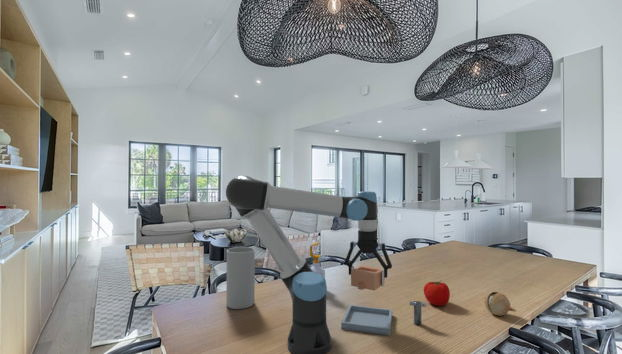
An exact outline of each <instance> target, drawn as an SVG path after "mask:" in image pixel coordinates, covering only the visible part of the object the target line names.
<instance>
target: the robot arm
mask: <svg viewBox="0 0 622 354" xmlns="http://www.w3.org/2000/svg"><path fill="white" fill-rule="evenodd" d="M225 197H226V200H227V202H228V203H229V204H230V205H231V206H232V207H233V208H235V210H236V211H237V213H238V214H239V216H240V217H241V218H243V219H246V220H247V221H248V222H249V224H250V225H251V227H252V228H253V230H254V231H255V233H256V234H257V236H258V238H259V239H260V241H261V242H262V244H263V246H264V247H265V248H266V250H267V251H268V254H269V255H270V256H271V258H272V259H273V261H274V262H275V264H276V266H277V267H278V269H279V270H280V274H279V278H280V279H281V281H282V282H283V284H284V285H285V287H286V289H287V290H288V292H289V294H290V298H291V301H292V324H291V327H290V329H289V333H288V336H287V339H286V340H287V341H286V342H287V345H286V346H287V349H288V351H289V352H291V354H327V353H328V352H329V351H330V350H331V348H332V345H333V344H332V335H331V332H330V330H329V327H328V324H327V290H328V286H327V281H326V277H325V278H324V277H323V276H322V275H320V274H317V273H315V272H313V270H312V269H311V268H310V267H311V266H310V265H309V263H308V262H307V260H306V259H305V258H302V257H300V256H299V255H298V253H297V252H296V250H295V249H294V247H293V245H292V243H291V242H290V241H289V239H288V237H287V236H286V234H285V233H284V231H283V229H282V228H281V226H280V225H279V224H278V222H277V220H276V218H275V217H274V216H273V214H272V212H271V211H270V209H276V210H284V211H289V212H297V213H298V212H299V213H304V214H305V213H306V214H311V215H319V216H327V217H334V218H340V219H347V220H351V221H353V222H354V221H356V222H357V229H358V230H357V236H358V237H357V241H353V240H352V241H350V244H349V249H348V252H347V255H346V257H345V260H344V263H343V265H344V266H347V267H348V276H349V275H350V276H351V270H353V269H355V265H354V263H355V262H356V261H357V259H358V258H359V257H360V255H361V254H362V253H363V254H369V255H371V254H373V256H375V258H376V260H377V261H378V263H379V264H380V265H381V268H382V286H381V287H385V280H386V279H385V278H388V270H391V269H392V268H393V264H392V262H391V260H390V256H389V254H388V252H387V249H386V244H385V242H382V243H380V242H378V231H377V229H378V212H377V211H378V199H377V197H378V196H377V193H376V192H375V191H370V190H369V191H358V192H357V196H341V195H340V196H339V195H336V194H328V193H323V192H321V193H320V192H314V191H307V190H302V189H296V188H288V187H282V186H275V185H271V184H270V182H268V181H262V180H258V179H255V178H253V177H251V176H248V175H239V176H236V177H234V178H232V179H231V180H230V181H229V182H228V183H227V186H226V189H225ZM356 246H357V247H358V249H359V250H357V252H356V254H355V256H354V257H353V258H352V260H351V261H350V259H351V256H352V254H353V251H354V248H356ZM378 247H379V249H380V250H381V251H382V254H383V257H384V259H385V261H384V259H383V258H382V257H381V255H380V253H379V252H378V250H377V249H378Z"/></svg>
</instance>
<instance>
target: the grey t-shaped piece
mask: <svg viewBox="0 0 622 354" xmlns="http://www.w3.org/2000/svg"><path fill="white" fill-rule="evenodd" d="M409 306H412V307H413V324H414V325H416V326H422V307H423V308H426V306H427V304H426V302H425V301H424V302H423V301H420V300H409Z"/></svg>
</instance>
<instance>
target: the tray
mask: <svg viewBox="0 0 622 354" xmlns="http://www.w3.org/2000/svg"><path fill="white" fill-rule="evenodd" d="M392 320H393V309H389V308H381V307H380V308H379V307H373V306H364V305H355V304H354V305H353V304H349V305H348V308H347V309H346V312H345V314H344V316H343V318H342V320H341V322H340V325H341V327H340V329H341V330H345V331H346V330H348V331H354V332H361V333H367V334H368V333H370V334H376V335H384V336H391V331H392V330H391V329H392Z"/></svg>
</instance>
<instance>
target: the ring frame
mask: <svg viewBox="0 0 622 354" xmlns="http://www.w3.org/2000/svg"><path fill="white" fill-rule="evenodd" d="M382 268H383V267H375V266H370V265H364V264H361V265H359V266H357V267H356V268H355V267H354V269H353V270H351V275H350V286H351V287H355V288H357V289H358V290H362V291H363V290H365V289H366V290H371V291H376V290H378V289H379V288H381V287H382Z"/></svg>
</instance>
